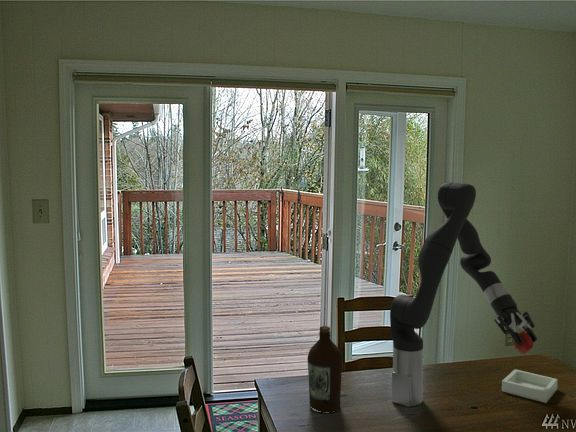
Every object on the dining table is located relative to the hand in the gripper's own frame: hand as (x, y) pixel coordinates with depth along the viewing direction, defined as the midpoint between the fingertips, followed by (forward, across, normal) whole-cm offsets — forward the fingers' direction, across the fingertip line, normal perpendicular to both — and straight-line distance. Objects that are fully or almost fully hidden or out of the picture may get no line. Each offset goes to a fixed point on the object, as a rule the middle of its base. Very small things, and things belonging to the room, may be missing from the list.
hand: (528, 342), depth 162 cm
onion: (+2, 0, +4) cm, 5 cm away
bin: (+12, +1, +11) cm, 16 cm away
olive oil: (-1, -66, +24) cm, 71 cm away
